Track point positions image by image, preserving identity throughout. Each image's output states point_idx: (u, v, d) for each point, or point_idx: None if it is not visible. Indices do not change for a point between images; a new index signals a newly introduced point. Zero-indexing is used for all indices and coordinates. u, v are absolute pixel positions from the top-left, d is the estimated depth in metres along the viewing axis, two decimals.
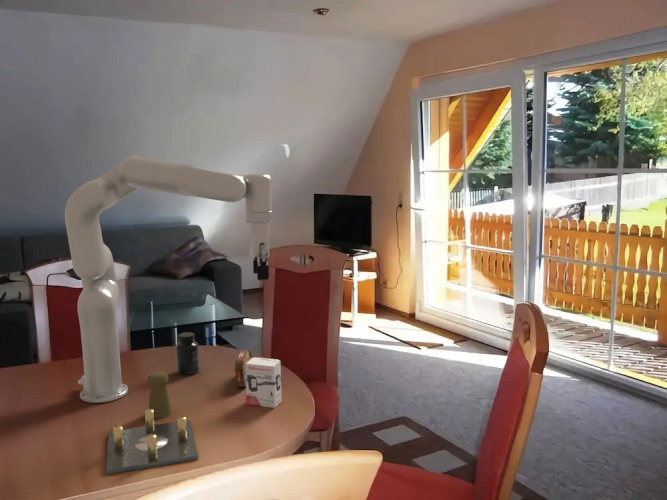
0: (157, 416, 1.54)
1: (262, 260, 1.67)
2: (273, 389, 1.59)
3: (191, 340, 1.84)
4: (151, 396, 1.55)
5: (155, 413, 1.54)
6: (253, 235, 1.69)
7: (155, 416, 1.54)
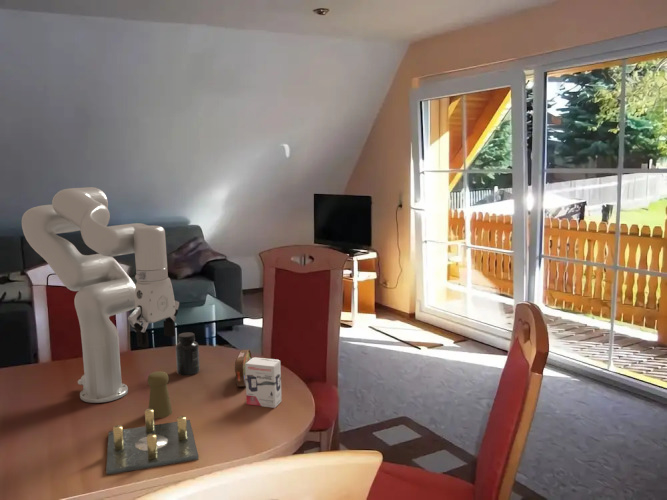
0: (157, 416, 1.54)
1: None
2: (273, 389, 1.59)
3: (191, 340, 1.84)
4: (151, 396, 1.55)
5: (155, 413, 1.54)
6: (172, 289, 1.55)
7: (155, 416, 1.54)
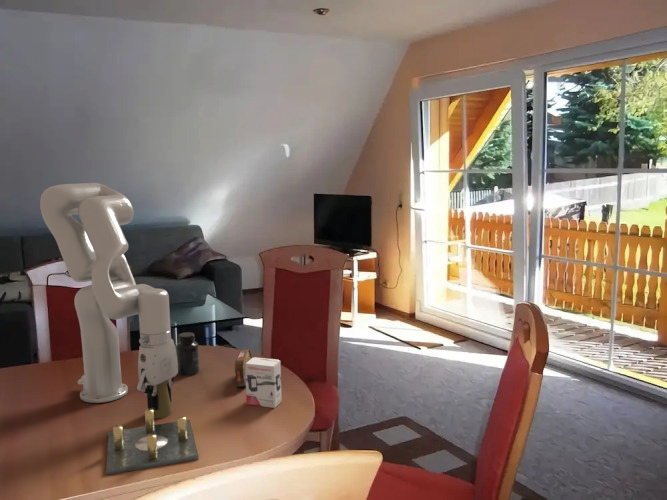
0: (157, 416, 1.54)
1: None
2: (273, 389, 1.59)
3: (191, 340, 1.84)
4: None
5: (155, 413, 1.54)
6: None
7: (155, 416, 1.54)
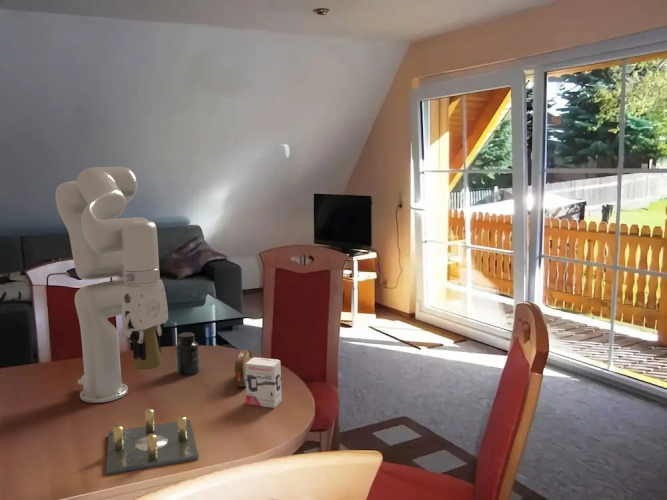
0: (144, 367, 1.34)
1: None
2: (273, 389, 1.59)
3: (191, 340, 1.84)
4: None
5: (142, 363, 1.34)
6: (165, 293, 1.38)
7: (142, 367, 1.34)
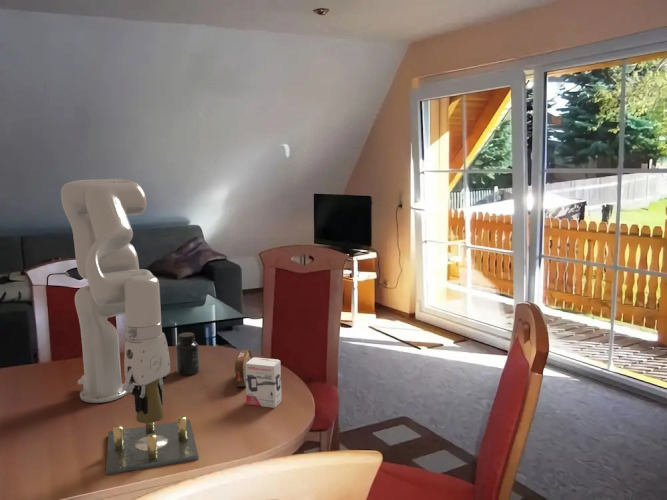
0: (146, 421, 1.35)
1: None
2: (273, 389, 1.59)
3: (191, 340, 1.84)
4: None
5: (144, 417, 1.35)
6: (167, 345, 1.39)
7: (144, 421, 1.35)
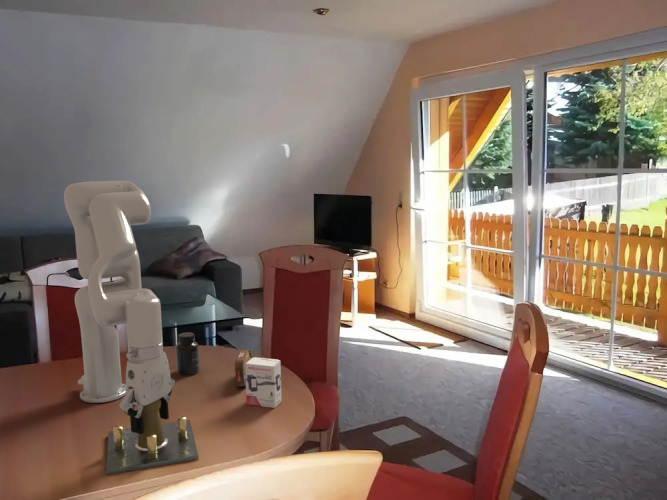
0: None
1: None
2: (273, 389, 1.59)
3: (191, 340, 1.84)
4: None
5: (146, 442, 1.36)
6: (168, 365, 1.39)
7: (146, 446, 1.36)
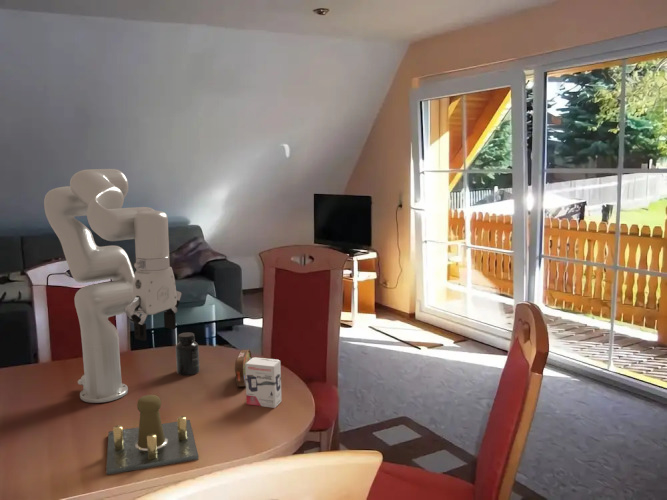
0: None
1: None
2: (273, 389, 1.59)
3: (191, 340, 1.84)
4: (141, 423, 1.37)
5: (146, 443, 1.36)
6: (174, 279, 1.45)
7: (146, 446, 1.36)
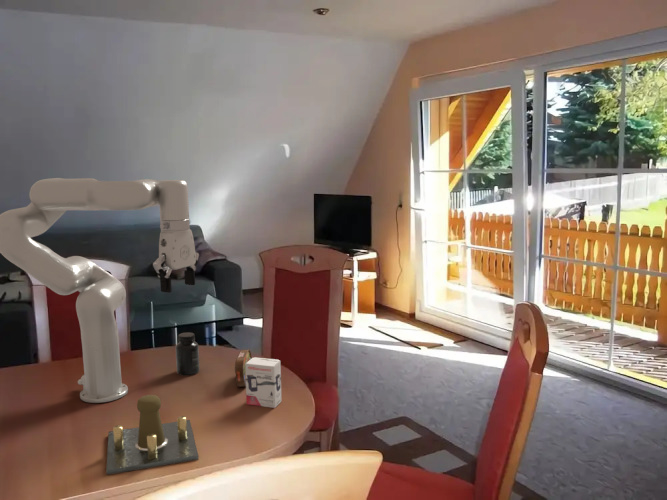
0: None
1: None
2: (273, 389, 1.59)
3: (191, 340, 1.84)
4: (141, 423, 1.36)
5: (146, 443, 1.36)
6: (193, 240, 1.66)
7: (146, 446, 1.36)
